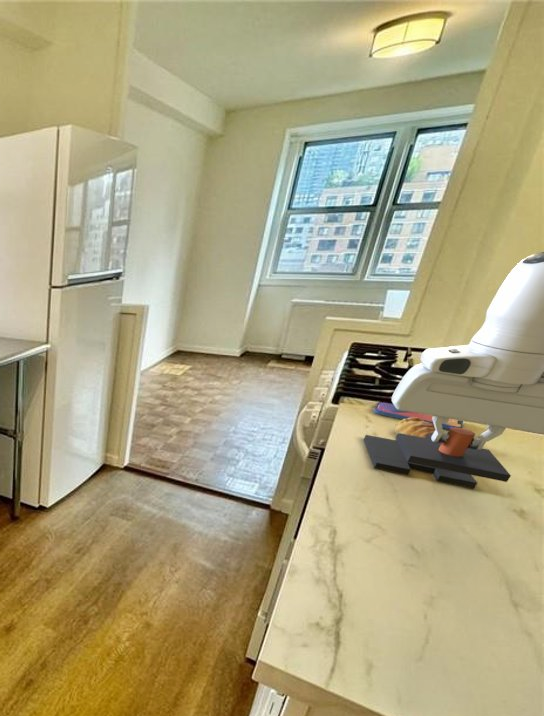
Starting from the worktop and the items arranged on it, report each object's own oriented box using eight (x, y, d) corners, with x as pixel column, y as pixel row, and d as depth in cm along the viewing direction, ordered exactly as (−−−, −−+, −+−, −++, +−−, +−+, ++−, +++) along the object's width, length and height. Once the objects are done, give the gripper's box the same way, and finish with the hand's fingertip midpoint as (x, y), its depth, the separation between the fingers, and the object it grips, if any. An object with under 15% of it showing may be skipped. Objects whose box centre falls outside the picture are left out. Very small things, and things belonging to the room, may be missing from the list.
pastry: (455, 452, 97) (465, 435, 95) (419, 451, 98) (428, 434, 96) (419, 432, 105) (427, 416, 103) (386, 431, 106) (394, 415, 104)
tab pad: (480, 449, 84) (496, 422, 82) (506, 482, 75) (526, 452, 72) (392, 433, 89) (405, 407, 87) (407, 461, 80) (422, 434, 78)
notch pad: (451, 456, 96) (454, 450, 95) (474, 488, 85) (477, 483, 84) (363, 439, 102) (365, 434, 101) (374, 468, 91) (376, 462, 91)
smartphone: (377, 405, 119) (378, 401, 118) (461, 422, 109) (463, 418, 109) (372, 413, 114) (374, 409, 114) (459, 432, 105) (462, 428, 104)
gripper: (590, 370, 71) (534, 452, 78) (411, 348, 80) (375, 423, 87) (613, 383, 66) (552, 469, 73) (420, 358, 75) (381, 437, 82)
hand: (454, 444), depth 80 cm, fingers closed on tab pad, 3 cm apart
